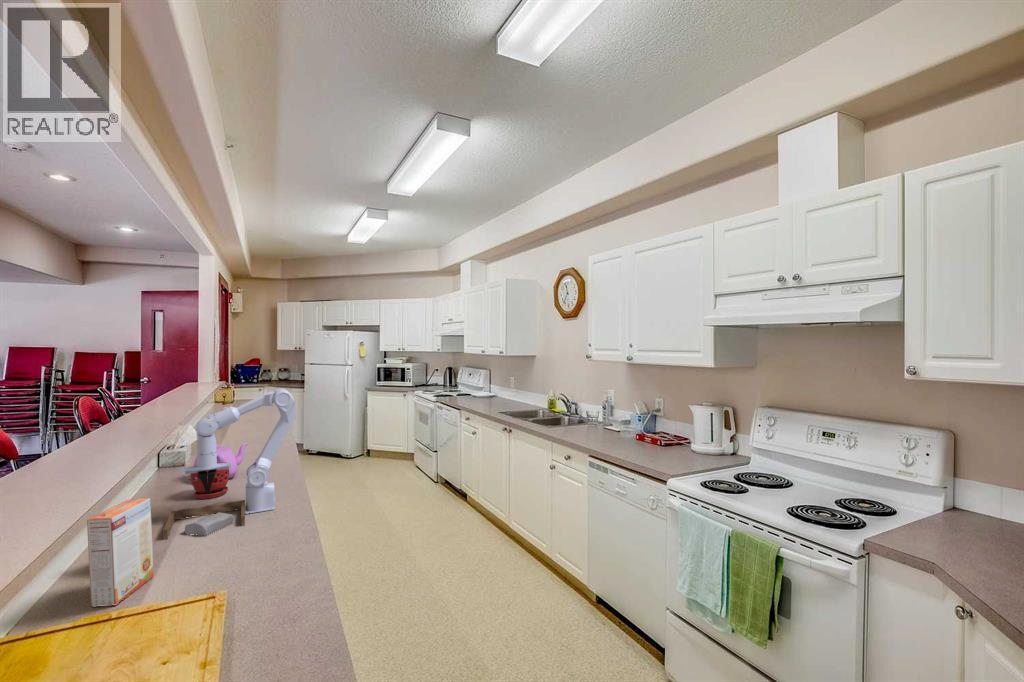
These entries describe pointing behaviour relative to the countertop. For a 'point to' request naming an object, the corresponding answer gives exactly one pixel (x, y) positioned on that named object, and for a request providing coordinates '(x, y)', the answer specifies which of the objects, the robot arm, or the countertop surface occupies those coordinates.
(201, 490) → the plant pot
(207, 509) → the brown wooden open frame
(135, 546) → the cracker box
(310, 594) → the countertop surface
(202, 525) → the stone block
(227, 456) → the teapot
